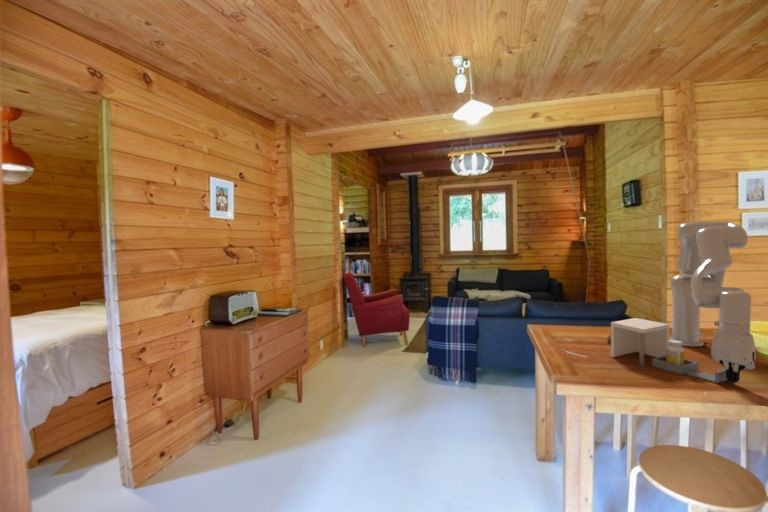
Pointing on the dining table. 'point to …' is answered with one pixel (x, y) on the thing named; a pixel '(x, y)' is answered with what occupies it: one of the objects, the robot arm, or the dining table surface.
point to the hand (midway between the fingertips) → (732, 381)
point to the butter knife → (575, 354)
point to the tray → (688, 369)
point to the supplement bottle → (675, 353)
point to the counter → (639, 338)
